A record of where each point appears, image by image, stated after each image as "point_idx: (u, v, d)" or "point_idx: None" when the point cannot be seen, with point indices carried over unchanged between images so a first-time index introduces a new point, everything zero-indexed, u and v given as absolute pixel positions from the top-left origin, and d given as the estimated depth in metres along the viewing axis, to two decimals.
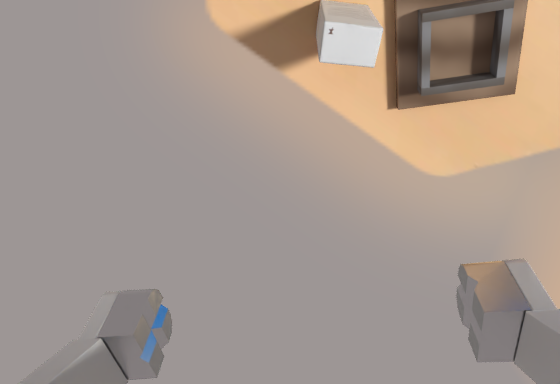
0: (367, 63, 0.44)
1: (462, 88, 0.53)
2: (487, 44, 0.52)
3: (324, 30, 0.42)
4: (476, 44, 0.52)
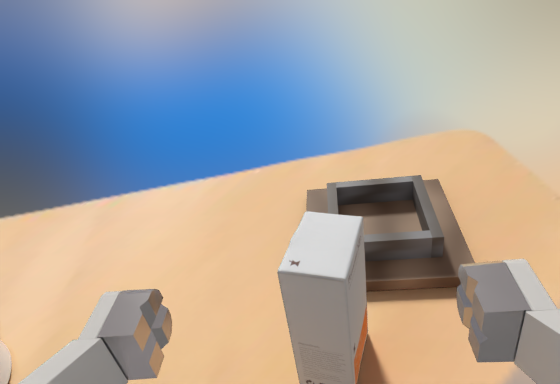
0: (354, 222, 0.27)
1: (428, 203, 0.41)
2: (379, 205, 0.46)
3: (291, 271, 0.24)
4: (379, 213, 0.44)
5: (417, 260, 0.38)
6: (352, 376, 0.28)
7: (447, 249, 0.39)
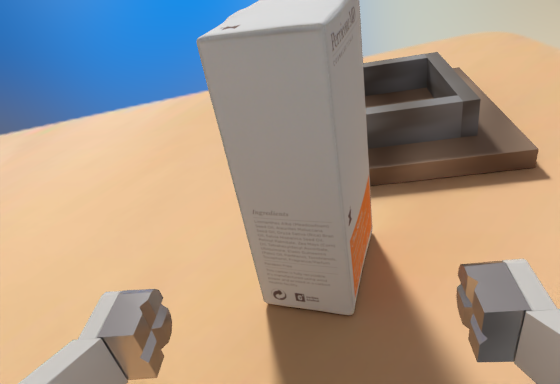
0: None
1: (452, 72, 0.29)
2: (382, 96, 0.34)
3: (221, 34, 0.13)
4: (383, 103, 0.33)
5: (441, 141, 0.26)
6: (348, 271, 0.16)
7: (483, 127, 0.27)
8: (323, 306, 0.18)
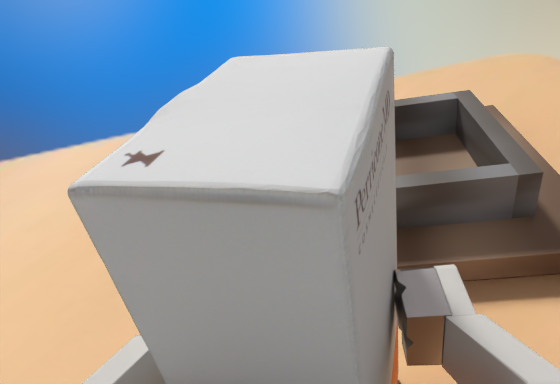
0: (369, 56, 0.09)
1: (494, 124, 0.22)
2: (400, 144, 0.27)
3: (114, 183, 0.06)
4: (401, 154, 0.26)
5: (485, 224, 0.20)
6: None
7: (540, 203, 0.20)
8: None
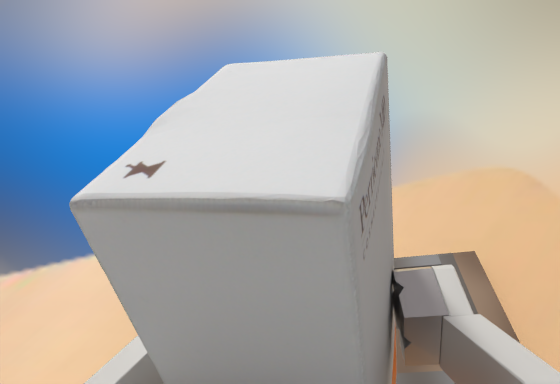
0: (364, 62, 0.09)
1: (471, 308, 0.26)
2: None
3: (117, 195, 0.06)
4: None
5: None
6: None
7: None
8: None
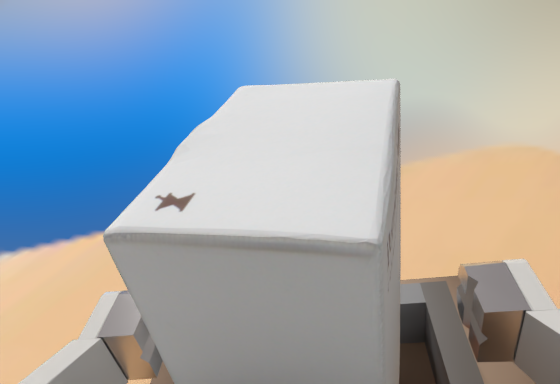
0: (379, 90, 0.09)
1: None
2: None
3: (152, 230, 0.06)
4: None
5: None
6: None
7: None
8: None
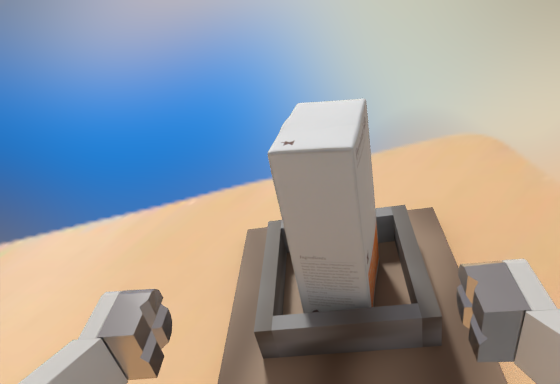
0: (357, 103, 0.23)
1: (416, 251, 0.26)
2: None
3: (284, 150, 0.20)
4: None
5: (400, 352, 0.23)
6: (367, 294, 0.23)
7: (449, 330, 0.24)
8: None
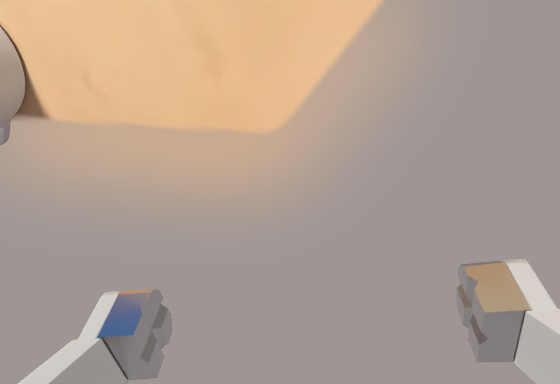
0: None
1: None
2: None
3: None
4: None
5: None
6: None
7: None
8: None
